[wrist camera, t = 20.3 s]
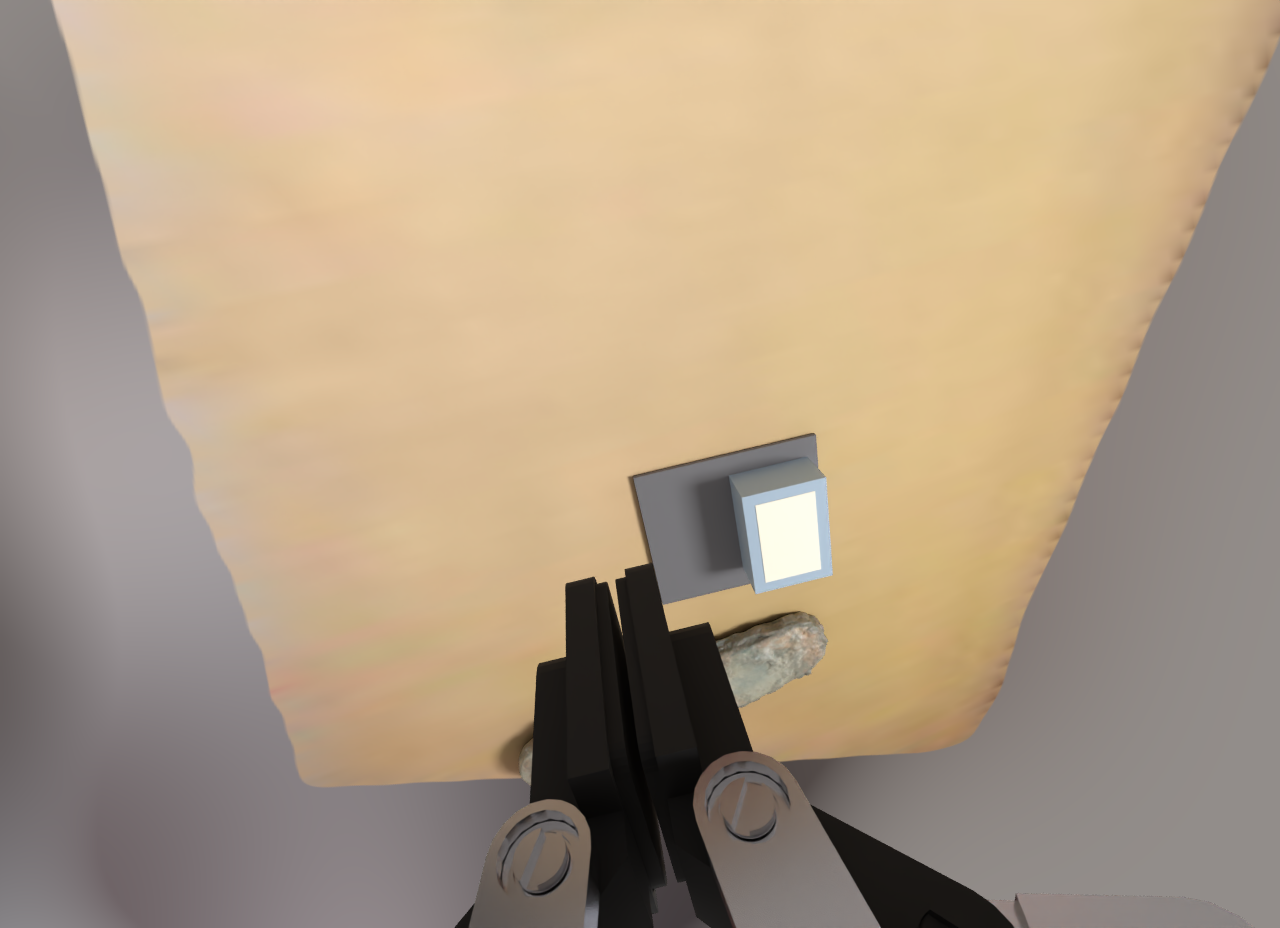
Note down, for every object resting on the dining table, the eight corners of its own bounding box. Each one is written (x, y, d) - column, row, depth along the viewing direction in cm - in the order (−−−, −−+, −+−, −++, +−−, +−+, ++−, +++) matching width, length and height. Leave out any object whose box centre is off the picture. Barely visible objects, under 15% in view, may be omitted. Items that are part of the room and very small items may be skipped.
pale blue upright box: (741, 498, 46) (826, 477, 46) (728, 475, 50) (807, 456, 50) (755, 594, 51) (832, 575, 51) (743, 567, 54) (814, 549, 54)
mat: (632, 476, 49) (633, 478, 49) (814, 433, 50) (815, 435, 49) (662, 602, 55) (662, 604, 55) (823, 563, 56) (824, 565, 55)
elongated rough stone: (827, 643, 63) (794, 577, 59) (851, 677, 58) (816, 607, 54) (549, 790, 64) (499, 735, 61) (549, 835, 60) (495, 778, 56)
